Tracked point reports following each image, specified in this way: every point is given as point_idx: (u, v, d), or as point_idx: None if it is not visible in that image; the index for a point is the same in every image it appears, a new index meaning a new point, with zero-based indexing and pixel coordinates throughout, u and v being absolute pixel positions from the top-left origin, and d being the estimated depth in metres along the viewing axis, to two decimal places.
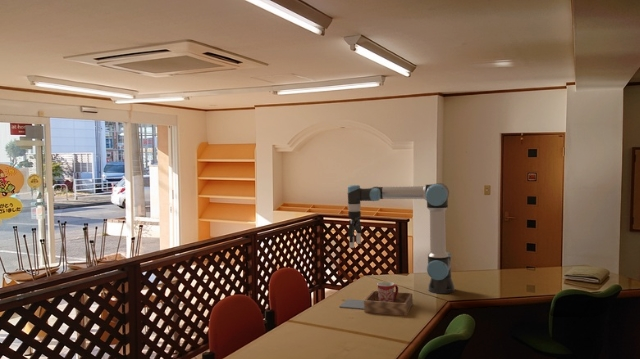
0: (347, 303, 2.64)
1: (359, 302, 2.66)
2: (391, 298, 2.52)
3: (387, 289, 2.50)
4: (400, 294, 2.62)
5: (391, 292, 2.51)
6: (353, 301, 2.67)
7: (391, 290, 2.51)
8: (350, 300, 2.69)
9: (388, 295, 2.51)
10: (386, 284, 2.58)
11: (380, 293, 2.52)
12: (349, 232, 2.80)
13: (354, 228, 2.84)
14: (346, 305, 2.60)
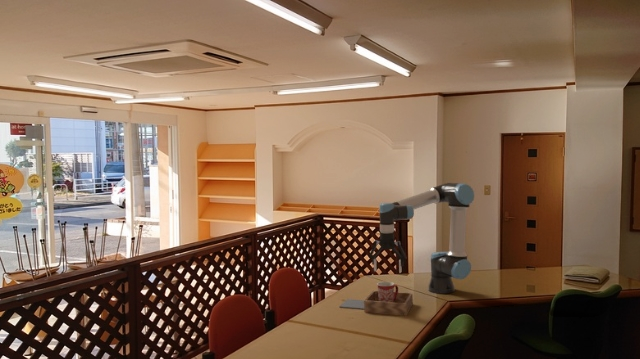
0: (347, 303, 2.64)
1: (359, 302, 2.66)
2: (391, 298, 2.52)
3: (387, 289, 2.50)
4: (400, 294, 2.62)
5: (391, 292, 2.51)
6: (353, 301, 2.67)
7: (391, 290, 2.51)
8: (350, 300, 2.69)
9: (388, 295, 2.51)
10: (386, 284, 2.58)
11: (380, 293, 2.52)
12: (370, 253, 2.58)
13: (378, 250, 2.55)
14: (346, 305, 2.60)
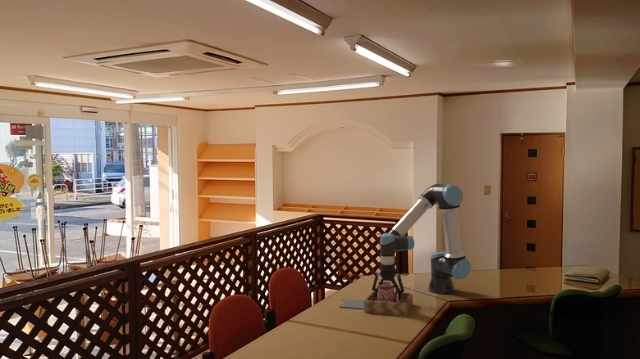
0: (347, 303, 2.64)
1: (359, 302, 2.66)
2: (391, 298, 2.52)
3: (387, 289, 2.50)
4: None
5: (391, 292, 2.51)
6: (353, 301, 2.67)
7: (391, 290, 2.51)
8: (350, 300, 2.69)
9: (388, 295, 2.50)
10: (386, 284, 2.58)
11: (380, 293, 2.52)
12: (373, 285, 2.58)
13: (380, 283, 2.55)
14: (346, 305, 2.60)
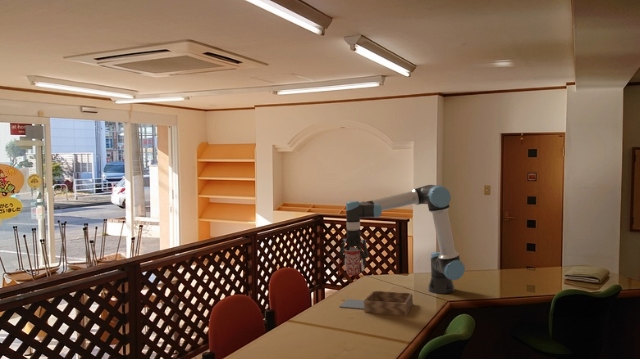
0: (347, 303, 2.64)
1: (359, 302, 2.66)
2: (357, 263, 2.58)
3: (353, 254, 2.57)
4: (400, 294, 2.62)
5: (357, 257, 2.58)
6: (353, 301, 2.67)
7: (357, 255, 2.58)
8: (350, 300, 2.69)
9: (354, 260, 2.57)
10: (353, 250, 2.64)
11: (347, 258, 2.58)
12: None
13: (347, 249, 2.62)
14: (346, 305, 2.60)
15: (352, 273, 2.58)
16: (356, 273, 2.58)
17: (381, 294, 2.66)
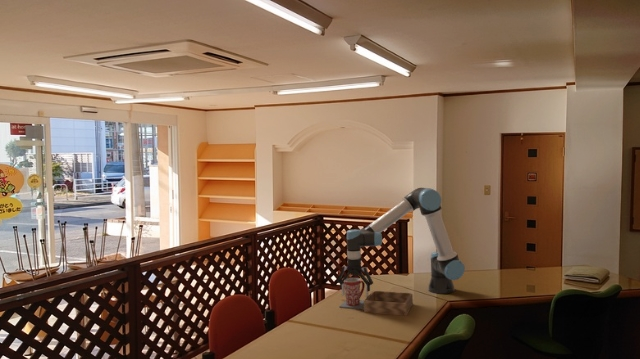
0: None
1: None
2: (357, 294, 2.59)
3: (353, 285, 2.58)
4: (400, 294, 2.62)
5: (357, 288, 2.59)
6: None
7: (357, 286, 2.59)
8: None
9: (354, 291, 2.58)
10: (353, 280, 2.66)
11: (347, 289, 2.60)
12: None
13: (346, 276, 2.63)
14: (346, 305, 2.60)
15: (352, 304, 2.59)
16: (356, 304, 2.59)
17: (381, 294, 2.66)
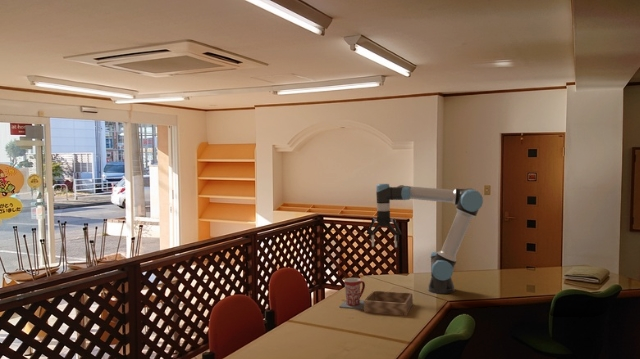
0: None
1: None
2: (357, 294, 2.59)
3: (353, 285, 2.58)
4: (400, 294, 2.62)
5: (357, 288, 2.59)
6: None
7: (357, 286, 2.59)
8: None
9: (354, 291, 2.58)
10: (353, 280, 2.66)
11: (347, 289, 2.60)
12: (368, 229, 2.82)
13: (375, 227, 2.78)
14: (346, 305, 2.60)
15: (352, 304, 2.59)
16: (356, 304, 2.59)
17: (381, 294, 2.66)
